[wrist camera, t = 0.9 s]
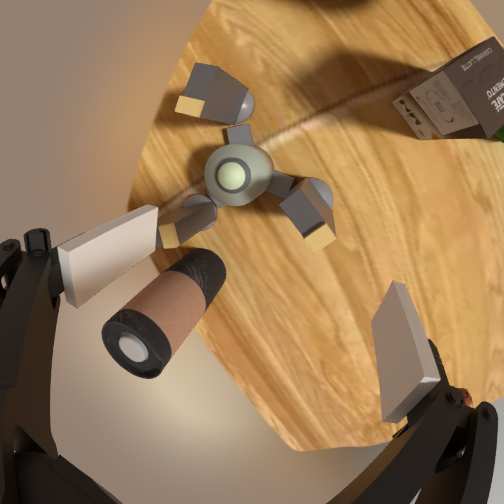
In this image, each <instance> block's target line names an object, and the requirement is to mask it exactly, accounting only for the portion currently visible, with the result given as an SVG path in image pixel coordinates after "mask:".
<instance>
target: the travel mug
mask: <svg viewBox="0 0 504 504" xmlns="http://www.w3.org/2000/svg"><path fill="white" fill-rule="evenodd" d="M225 279H226V269H225V265H224V263H223V261H222V260H221V259H220V257H219V256H218V255H217V254H215V253H214V252H212V251H210V250H207V249H196V250H193V251H191V252H190V253H188V254H187V255H185V256H184V257H183V258H181V259H180V260H179V261H177V262H176V263H175V264H173V265H172V266H171V267H169V268H168V269H167V270H165V271H164V272H163V273H161V274H160V275H159V276H158V277H157V278H156V279H154V280H153V281H152V282H151V283H150V284H148V285H147V286H146V287H145V288H144V289H143V290H142V291H140V292H139V293H138V294H137V295H136V296H135V297H134V298H132V299H131V300H130V301H129V302H128V303H127V304H126V305H125V306H124V307H123V308H121V309H120V310H119V311H118V312H117V313H116V314H115V315H114V316H112V317H111V318H110V320H108V321H107V322H106V323H105V324H104V326H103V328H102V340H103V343H104V345H105V347H106V349H107V351H108V352H109V354H110V355H111V356H112V358H113V359H114V360H115V361H116V362H117V363H118V364H119V365H120V366H121V367H123V368H124V369H125V370H127V371H128V372H130V373H131V374H133V375H135V376H138V377H141V378H145V379H152V378H155V377H157V376H159V374H161V372H162V370H163V369H164V367H165V366H166V365H167V363H168V362H169V360H170V359H171V358H172V356H173V355H174V354H175V352H176V351H177V350H178V348H179V347H180V346H181V344H182V343H183V341H184V340H185V339H186V337H187V336H188V335H189V333H190V332H191V331H192V329H193V328H194V327H195V325H196V324H197V323H198V321H199V320H200V319H201V317H202V316H203V314H204V313H205V311H206V310H207V308H208V307H209V305H210V304H211V302H212V301H213V299H214V298H215V296H216V294H217V293H218V291H219V290H220V288H221V287H222V285H223V283H224V281H225Z"/></svg>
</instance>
